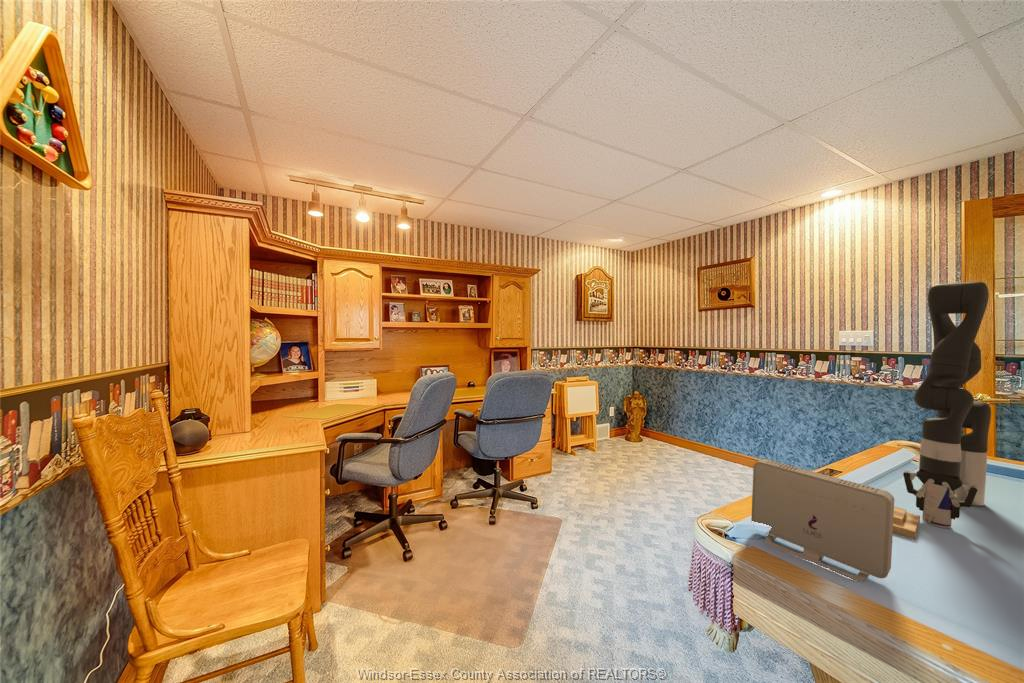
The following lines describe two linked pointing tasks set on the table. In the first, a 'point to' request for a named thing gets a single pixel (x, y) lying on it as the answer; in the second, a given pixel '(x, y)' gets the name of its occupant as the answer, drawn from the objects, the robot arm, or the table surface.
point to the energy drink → (937, 506)
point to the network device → (825, 517)
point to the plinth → (905, 523)
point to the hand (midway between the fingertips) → (936, 513)
